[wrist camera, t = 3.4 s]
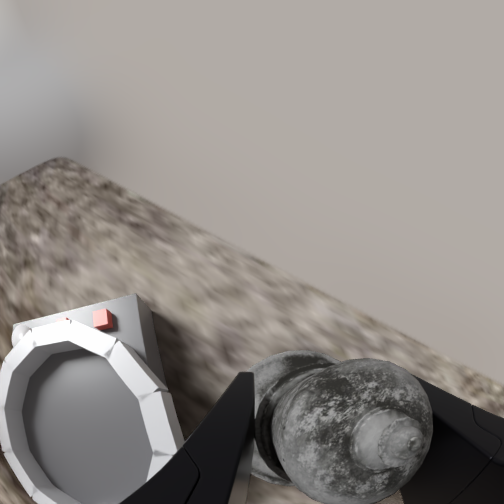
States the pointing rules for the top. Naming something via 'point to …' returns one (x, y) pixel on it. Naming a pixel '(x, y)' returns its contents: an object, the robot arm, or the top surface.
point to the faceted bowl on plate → (87, 404)
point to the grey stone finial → (338, 426)
